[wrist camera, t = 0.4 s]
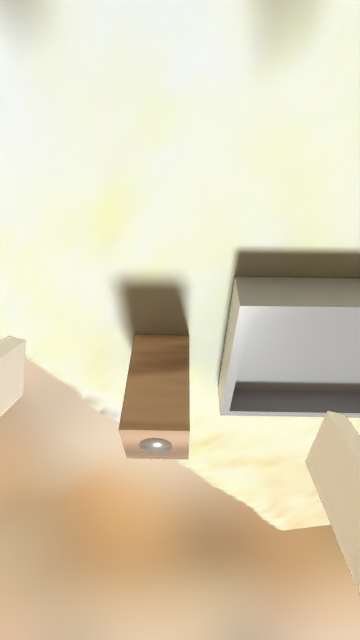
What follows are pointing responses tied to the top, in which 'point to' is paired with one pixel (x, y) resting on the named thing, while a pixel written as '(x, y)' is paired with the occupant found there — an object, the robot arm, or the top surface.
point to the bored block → (157, 398)
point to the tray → (292, 348)
